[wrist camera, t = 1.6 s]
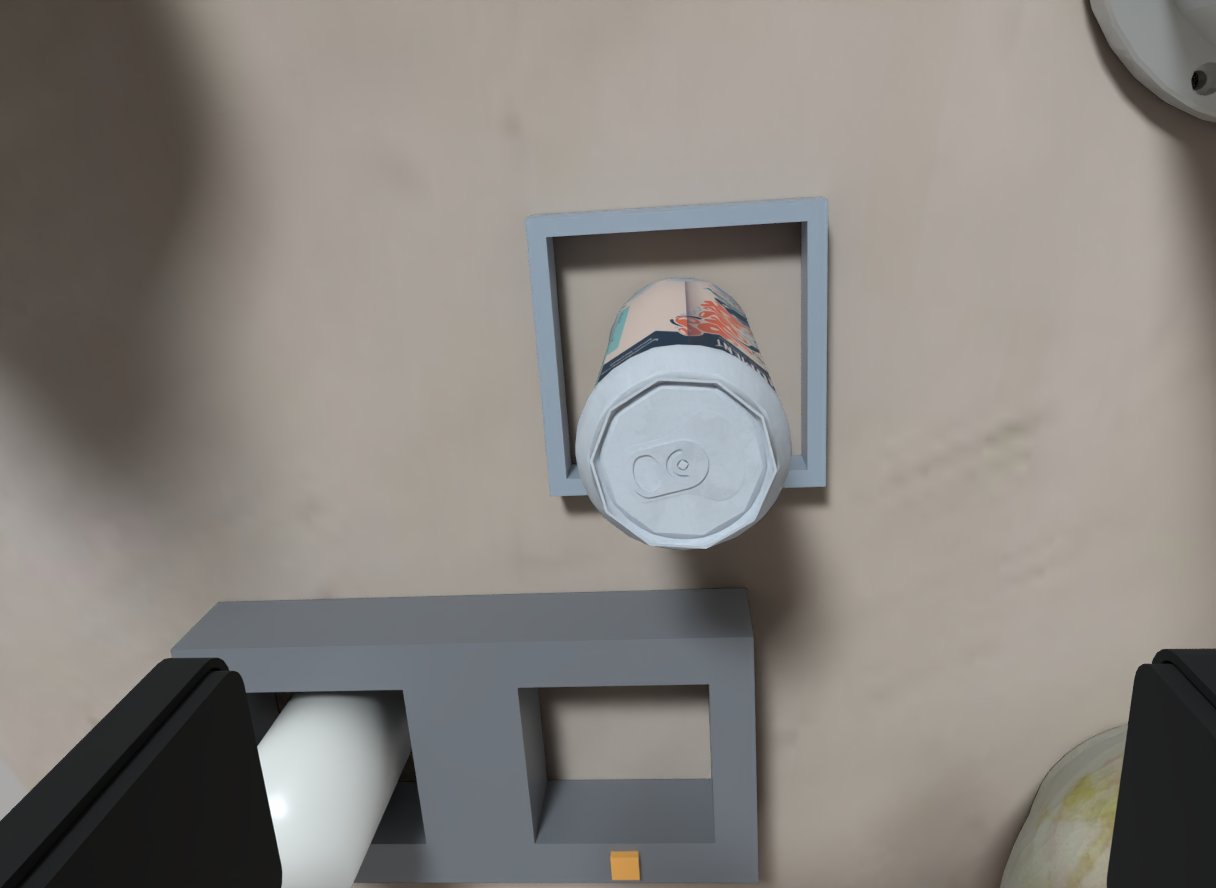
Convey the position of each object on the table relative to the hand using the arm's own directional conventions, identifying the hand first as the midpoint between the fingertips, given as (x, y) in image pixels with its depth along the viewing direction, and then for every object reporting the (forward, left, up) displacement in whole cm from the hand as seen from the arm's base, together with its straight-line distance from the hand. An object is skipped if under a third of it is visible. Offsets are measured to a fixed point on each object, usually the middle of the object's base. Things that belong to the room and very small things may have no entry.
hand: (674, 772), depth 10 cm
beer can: (0, 0, -22) cm, 22 cm away
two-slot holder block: (+8, +14, -22) cm, 27 cm away
